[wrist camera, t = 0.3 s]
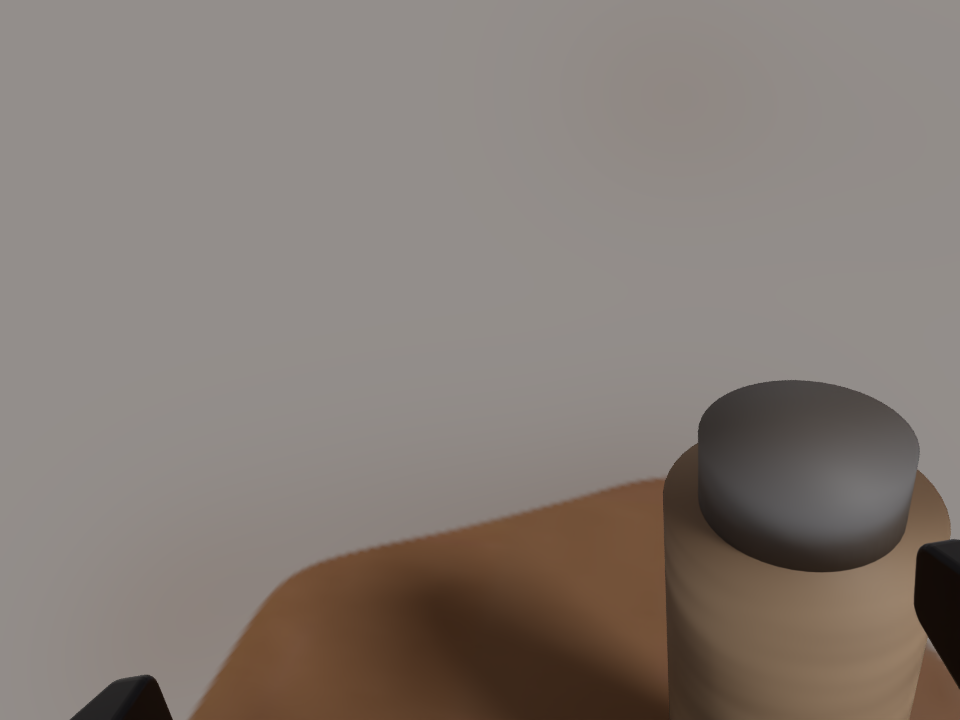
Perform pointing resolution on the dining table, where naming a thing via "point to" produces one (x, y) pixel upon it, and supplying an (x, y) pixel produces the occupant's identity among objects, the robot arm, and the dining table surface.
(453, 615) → the dining table surface
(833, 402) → the pepper mill
